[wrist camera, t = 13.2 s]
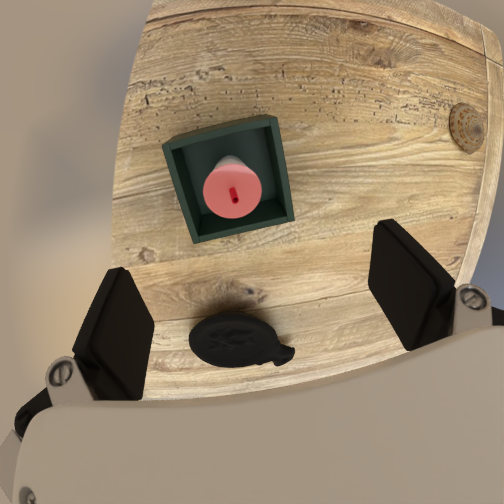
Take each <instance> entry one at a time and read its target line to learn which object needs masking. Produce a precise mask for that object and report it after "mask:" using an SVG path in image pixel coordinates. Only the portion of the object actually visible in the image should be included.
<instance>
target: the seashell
mask: <svg viewBox="0 0 504 504" xmlns="http://www.w3.org/2000/svg"><path fill="white" fill-rule="evenodd" d="M450 128H451V133H452V135H453V137H454V139H455V141H456V142H457V143H458V144H459V145H460V146H461V147H463V148H464V149H465V152H466V153H467V154H472V153H474V152H475V151H477V150H478V149H479V148H480V147H481V145H482V143H483V140H484V126H483V122H482V119H481V117H480V115H479V114H478V112H477V111H476V110H475V109H474V108H473V107H471V106H470V105H468V104H464V103H459V104H457V105H456V106H455V107H454V108H453V109H452V112H451V115H450Z"/></svg>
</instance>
